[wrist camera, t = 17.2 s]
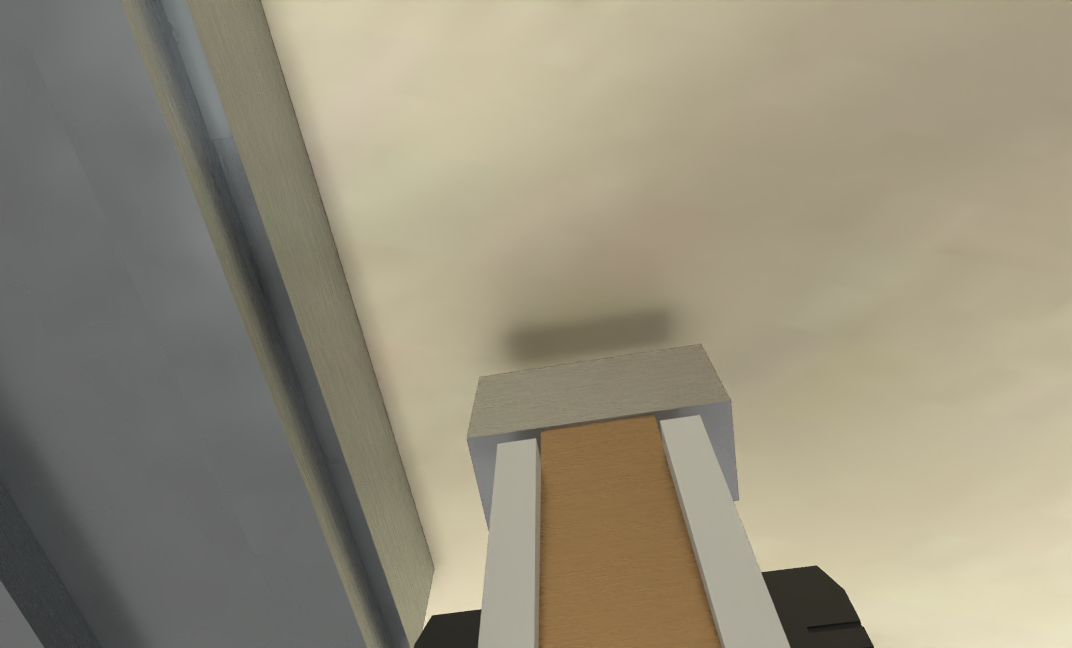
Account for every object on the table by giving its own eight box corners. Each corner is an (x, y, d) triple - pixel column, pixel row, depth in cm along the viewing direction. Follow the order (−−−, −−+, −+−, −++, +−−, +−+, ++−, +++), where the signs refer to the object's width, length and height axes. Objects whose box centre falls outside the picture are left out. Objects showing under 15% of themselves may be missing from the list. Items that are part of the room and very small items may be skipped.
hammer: (701, 344, 17) (985, 882, 6) (709, 431, 18) (970, 1043, 7) (479, 376, 18) (361, 939, 6) (498, 460, 19) (422, 1082, 7)
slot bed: (248, -39, 17) (126, -58, 12) (434, 569, 25) (407, 707, 20) (-189, 49, 18) (-466, 67, 13) (126, 607, 26) (28, 748, 21)
